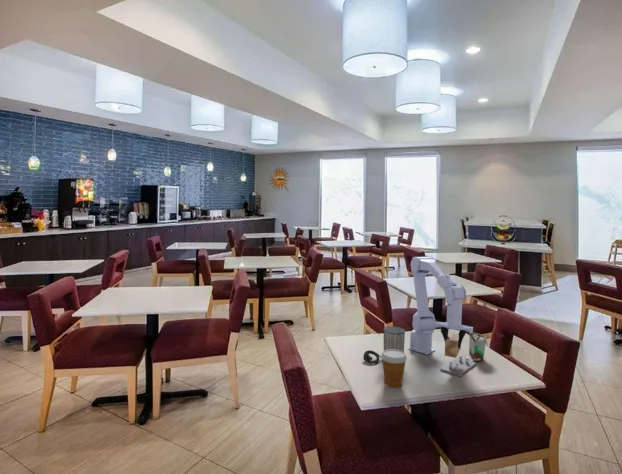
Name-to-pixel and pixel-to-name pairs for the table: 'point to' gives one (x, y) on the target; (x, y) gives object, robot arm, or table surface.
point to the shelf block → (452, 345)
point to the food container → (477, 346)
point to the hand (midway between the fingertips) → (452, 346)
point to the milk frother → (388, 342)
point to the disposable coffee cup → (393, 367)
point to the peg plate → (458, 366)
